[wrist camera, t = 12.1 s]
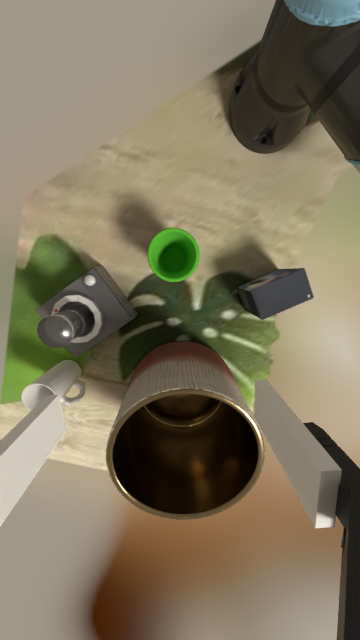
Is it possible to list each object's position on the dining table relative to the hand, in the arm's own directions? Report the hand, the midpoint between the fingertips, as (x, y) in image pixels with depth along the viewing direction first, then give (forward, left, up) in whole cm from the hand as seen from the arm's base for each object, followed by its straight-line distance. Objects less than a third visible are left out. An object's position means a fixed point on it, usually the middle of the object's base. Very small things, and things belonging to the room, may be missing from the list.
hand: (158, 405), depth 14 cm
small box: (-20, +8, -37) cm, 43 cm away
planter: (+9, +18, -37) cm, 42 cm away
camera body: (+15, -10, -37) cm, 41 cm away
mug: (+29, 0, -37) cm, 47 cm away
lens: (+16, -10, -32) cm, 37 cm away
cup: (-7, -9, -37) cm, 39 cm away
